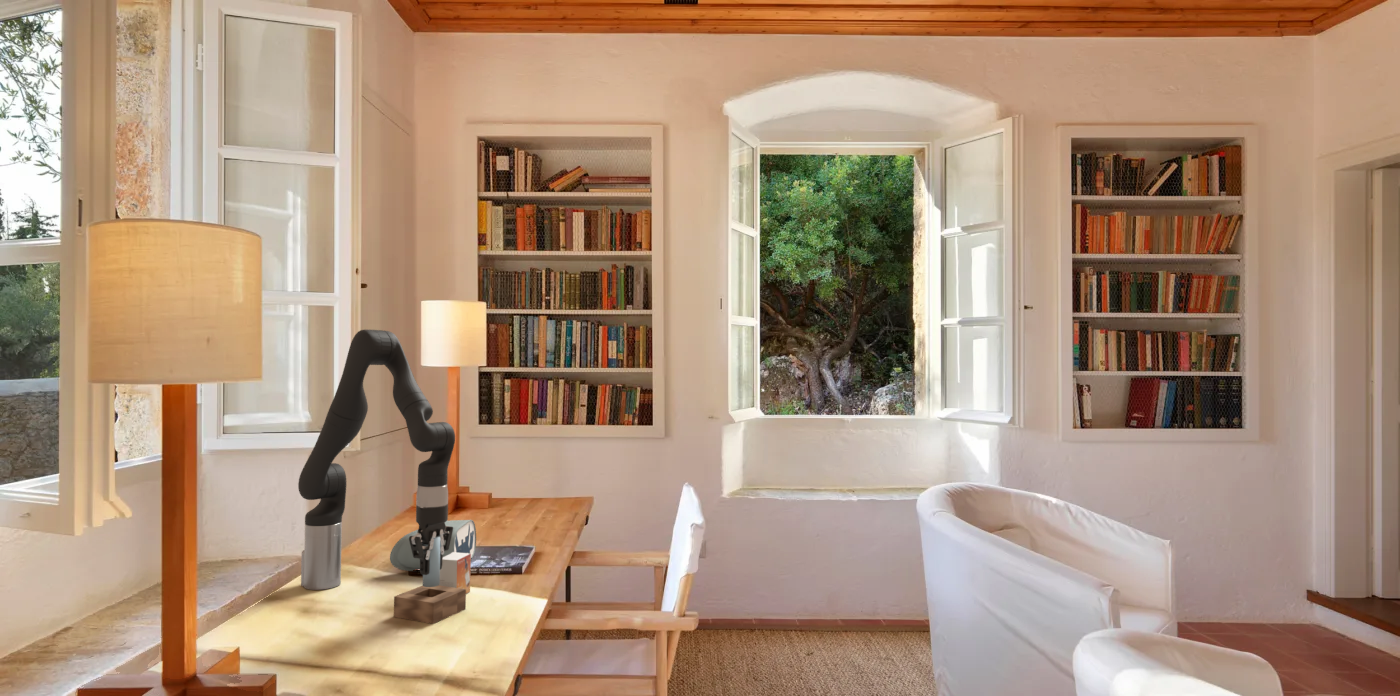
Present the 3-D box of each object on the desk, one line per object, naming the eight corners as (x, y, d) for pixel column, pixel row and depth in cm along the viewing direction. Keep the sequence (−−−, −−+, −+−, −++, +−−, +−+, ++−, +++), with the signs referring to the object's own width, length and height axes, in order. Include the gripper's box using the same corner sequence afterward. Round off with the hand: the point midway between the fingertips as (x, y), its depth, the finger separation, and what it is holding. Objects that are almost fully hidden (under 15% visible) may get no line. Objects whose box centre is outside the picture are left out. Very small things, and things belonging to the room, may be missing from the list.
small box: (456, 600, 209) (456, 560, 209) (436, 599, 210) (437, 559, 210) (470, 591, 217) (471, 553, 217) (451, 590, 218) (452, 551, 218)
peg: (419, 585, 198) (419, 537, 198) (430, 581, 201) (431, 534, 201) (432, 587, 196) (433, 539, 196) (443, 583, 200) (443, 535, 200)
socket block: (393, 616, 195) (394, 596, 195) (427, 602, 206) (427, 583, 206) (433, 623, 191) (433, 603, 191) (465, 609, 202) (465, 589, 202)
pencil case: (454, 576, 230) (453, 531, 230) (389, 577, 231) (387, 533, 231) (477, 556, 252) (475, 515, 252) (417, 558, 253) (416, 517, 253)
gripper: (439, 497, 207) (438, 563, 207) (399, 506, 194) (398, 577, 194) (463, 499, 204) (461, 566, 204) (424, 509, 191) (423, 581, 191)
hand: (431, 571), depth 199 cm, fingers closed on peg, 4 cm apart
